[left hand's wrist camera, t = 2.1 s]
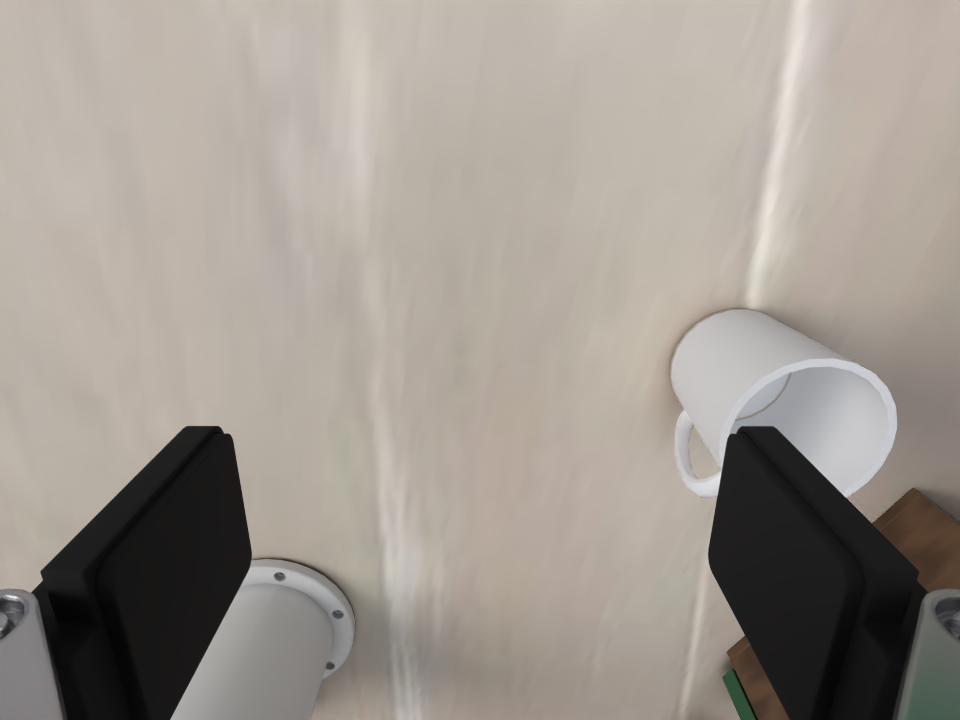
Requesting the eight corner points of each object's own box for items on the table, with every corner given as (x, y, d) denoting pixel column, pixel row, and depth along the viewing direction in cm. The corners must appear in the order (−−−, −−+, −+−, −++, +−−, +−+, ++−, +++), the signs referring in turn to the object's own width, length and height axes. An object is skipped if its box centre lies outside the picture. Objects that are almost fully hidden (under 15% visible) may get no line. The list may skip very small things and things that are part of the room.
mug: (752, 272, 38) (844, 321, 28) (821, 372, 40) (927, 449, 31) (610, 375, 40) (650, 453, 31) (683, 463, 43) (741, 560, 33)
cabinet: (810, 701, 52) (873, 813, 43) (726, 652, 50) (776, 758, 41) (999, 550, 46) (1115, 645, 37) (912, 487, 44) (1015, 573, 35)
